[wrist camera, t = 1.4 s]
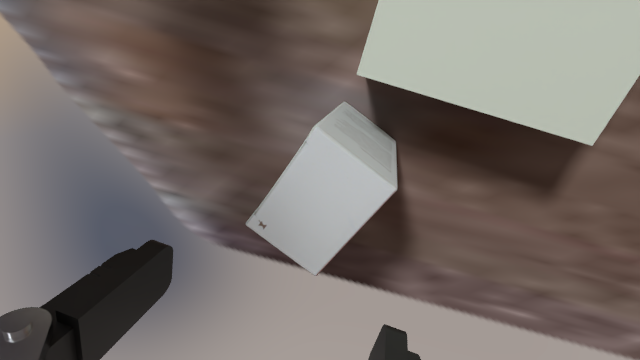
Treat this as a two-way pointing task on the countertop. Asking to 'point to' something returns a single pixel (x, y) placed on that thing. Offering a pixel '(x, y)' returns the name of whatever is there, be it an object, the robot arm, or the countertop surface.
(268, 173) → the countertop surface
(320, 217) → the small box
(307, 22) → the countertop surface
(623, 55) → the block
